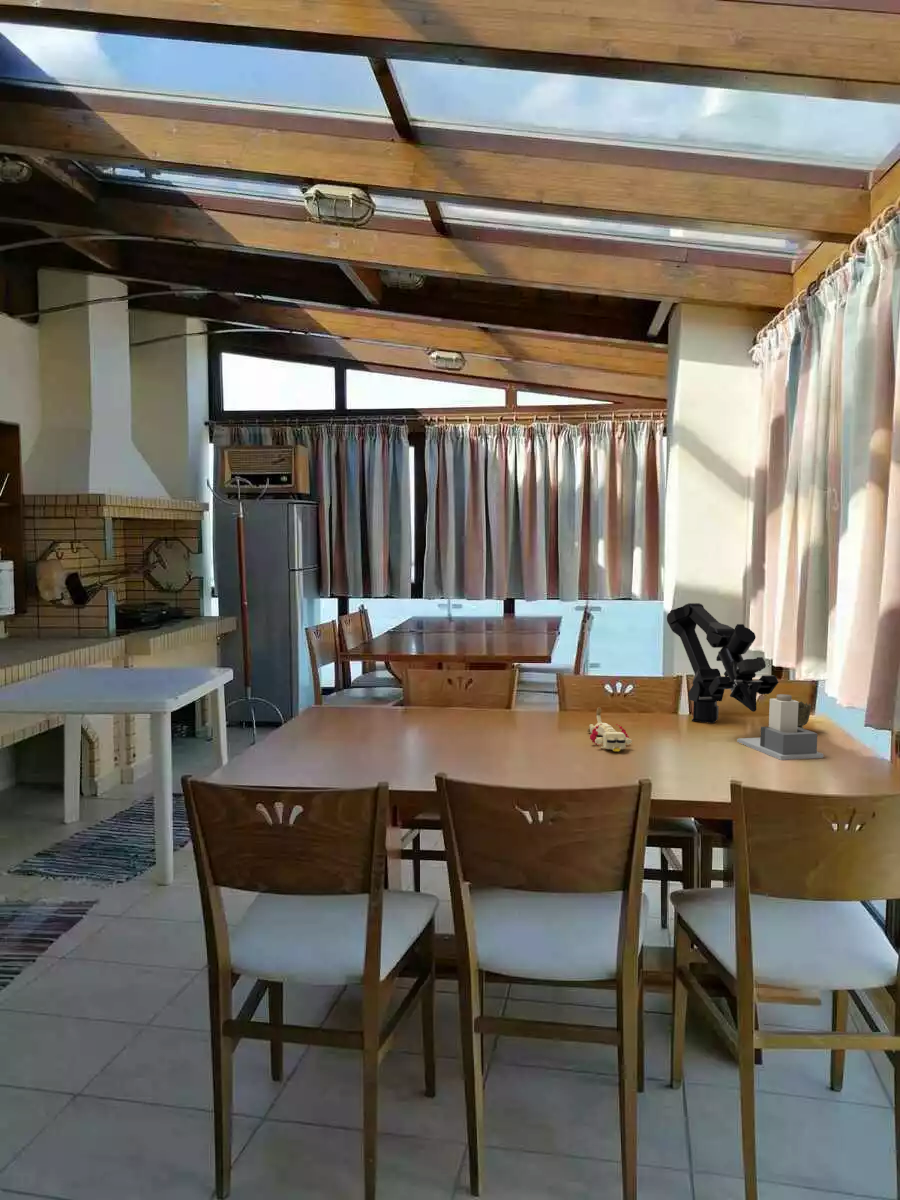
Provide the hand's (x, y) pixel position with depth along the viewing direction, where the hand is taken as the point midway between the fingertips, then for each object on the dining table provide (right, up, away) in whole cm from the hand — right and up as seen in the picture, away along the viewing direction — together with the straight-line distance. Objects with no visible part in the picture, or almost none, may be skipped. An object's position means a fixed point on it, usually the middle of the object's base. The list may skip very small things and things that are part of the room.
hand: (754, 710), depth 246 cm
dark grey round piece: (+17, -8, +14) cm, 23 cm away
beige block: (+3, -8, -12) cm, 15 cm away
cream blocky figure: (-41, -8, -5) cm, 42 cm away
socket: (+3, -9, -11) cm, 14 cm away
